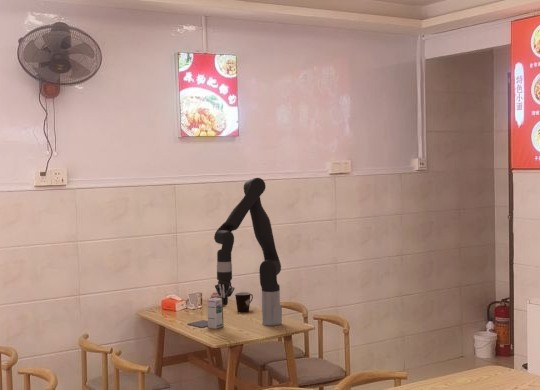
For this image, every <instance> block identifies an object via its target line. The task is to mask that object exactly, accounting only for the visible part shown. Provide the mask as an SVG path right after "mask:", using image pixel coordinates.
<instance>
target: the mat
mask: <svg viewBox="0 0 540 390" xmlns="http://www.w3.org/2000/svg"><path fill="white" fill-rule="evenodd" d="M187 326H192V327H196V328H201V329H204V328H207V327H208V320H207V319H206V320H205V319H203V320H198V321H192V322H189V323H187ZM208 328H209V327H208Z"/></svg>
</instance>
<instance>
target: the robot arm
mask: <svg viewBox="0 0 540 390" xmlns="http://www.w3.org/2000/svg"><path fill="white" fill-rule="evenodd" d="M265 190H266V183H265V181H264V179H262V177H254V178H251V179H248V180H246V181H245V182H244V184H243V192H244V196H243V198H242V199H241V200H240V202H238V204H237V205H235V207H234V208H233V209H232V210H231V212H230V214H229V215H228V217H227V219H226V220H225V221H224V222H223V223H222V224H221V226H220V227H218V228H217V229H216V231H215V232H214V233H215V234H214V238H213V239H214V241H215V243H217V244H218V245H221V249H219V250H217V253H216V254H217V257H216V279H217V280H218V281H217V284H216V285H214V287H215V291H216V290H217V292H218V294H219V296H221V297H222V305H223V306H228V304H229V302H228V301H229V300H228V299H229V298H230V297H231V296H232V295H233V293H234V291H235V287H233V286H232V279H233V264H232V252H233V248H234V243H235V236H234V233H233V232H234V231H237V229H239V227H240V226H241V224H242V222H243V220H244V219H245V217H246V215H247V214H248V213H249V214H250V218H251V223H252V229H253V233H254V237H255V238H256V241H257V242H258V245H259V247H260V248H261V250H262V254H263V255H262V256H263V261H262V262H261V263H260V265H259V284H260V287H261V314H262V316H261V317H262V321H261V322H262V325H263V326H269V327H270V326H271V327H275V326H278V325H282V323H283V316H282V314H283V313H282V312H283V311H282V310H283V309H282V305H281V296H280V295H281V294H280V293H281V289H280V287H281V285H280V284H279V283H278V275H279V274H280V273H281V270H282V263H281V261H280V258H279V255H278V251H277V247H276V244H275V239H274V233H273V228H272V224H271V220H270V217H269V216H268V214H267V213H266V211H265V209H264V206H263V205H262V202H261V196H262V195H263V194H264V192H265Z"/></svg>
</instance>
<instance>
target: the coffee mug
mask: <svg viewBox="0 0 540 390" xmlns="http://www.w3.org/2000/svg"><path fill="white" fill-rule="evenodd" d="M234 294H235V295H234V296H235V303H236V309H237V312H238V313H242V314H243V313H249V312H250V307H251V306H250V304H251V302H252V301H253V299H254V297H253V294H251V292H248V291H247V292H246V291H245V292H244V291H243V292H241V291H240V292H236V293H234Z"/></svg>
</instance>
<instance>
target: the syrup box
mask: <svg viewBox="0 0 540 390" xmlns="http://www.w3.org/2000/svg"><path fill="white" fill-rule="evenodd" d="M206 308H207V309H206V310H207V311H206V312H207V321H208V328H209V329H214V330H215V329H216V330H217V329H219V328H223V327H224V326H225V325H224V305H222V299H221V298H212V299H210V298H209V299H206Z"/></svg>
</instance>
